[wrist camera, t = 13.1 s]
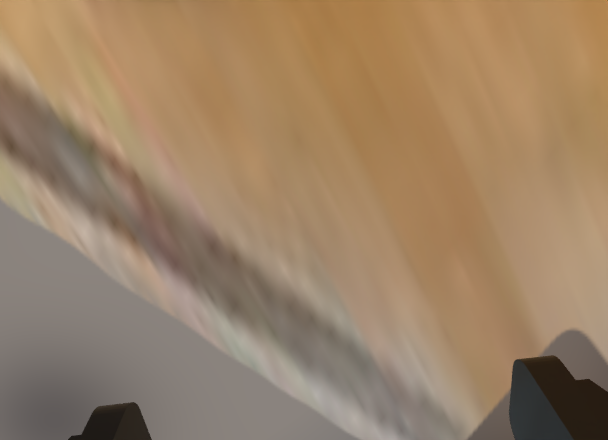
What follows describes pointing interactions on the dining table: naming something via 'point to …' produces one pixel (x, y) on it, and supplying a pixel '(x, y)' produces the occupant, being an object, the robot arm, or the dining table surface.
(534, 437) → the robot arm
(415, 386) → the dining table surface
